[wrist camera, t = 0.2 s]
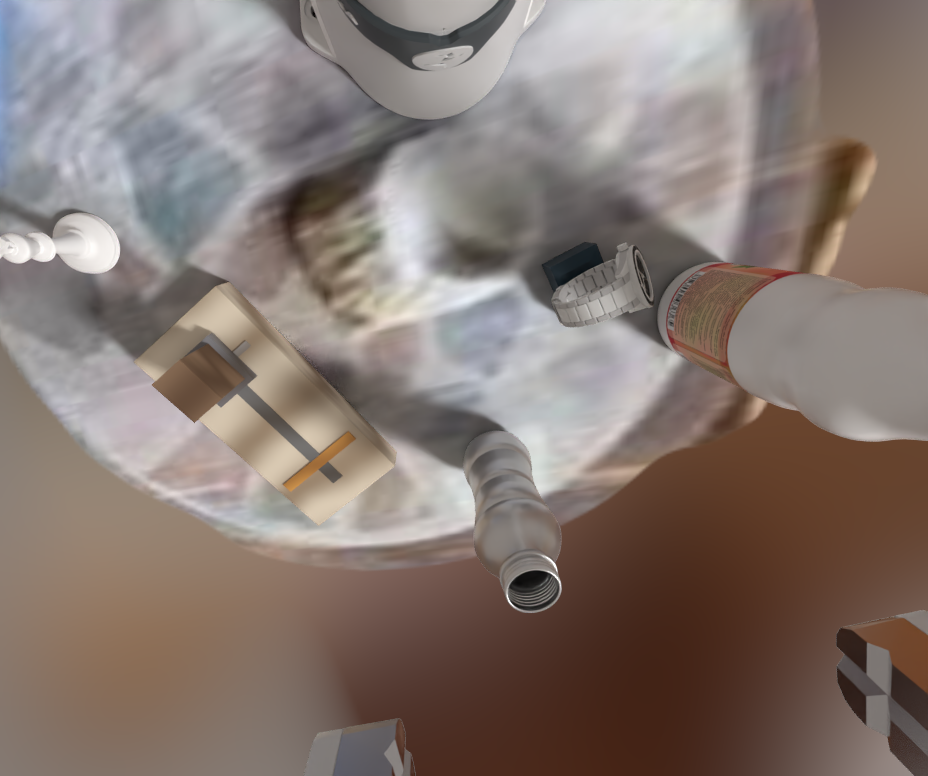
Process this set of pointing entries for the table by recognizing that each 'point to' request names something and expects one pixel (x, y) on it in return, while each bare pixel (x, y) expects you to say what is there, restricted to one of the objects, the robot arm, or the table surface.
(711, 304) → the fruit juice
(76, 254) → the chess piece
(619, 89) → the table surface
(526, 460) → the plastic bottle
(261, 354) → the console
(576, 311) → the watch
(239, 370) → the slider
